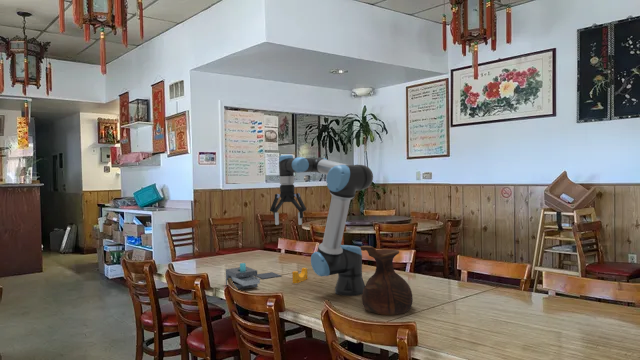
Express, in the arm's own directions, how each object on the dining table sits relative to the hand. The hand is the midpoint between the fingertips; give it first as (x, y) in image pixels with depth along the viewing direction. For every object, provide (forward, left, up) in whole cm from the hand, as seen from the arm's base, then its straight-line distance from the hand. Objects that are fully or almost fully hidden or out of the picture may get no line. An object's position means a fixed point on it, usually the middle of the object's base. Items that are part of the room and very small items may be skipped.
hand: (288, 224), depth 258 cm
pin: (+15, +20, -33) cm, 41 cm away
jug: (-68, -9, -33) cm, 76 cm away
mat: (+29, -2, -33) cm, 44 cm away
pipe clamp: (+7, -10, -33) cm, 35 cm away
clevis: (+15, +20, -33) cm, 41 cm away
